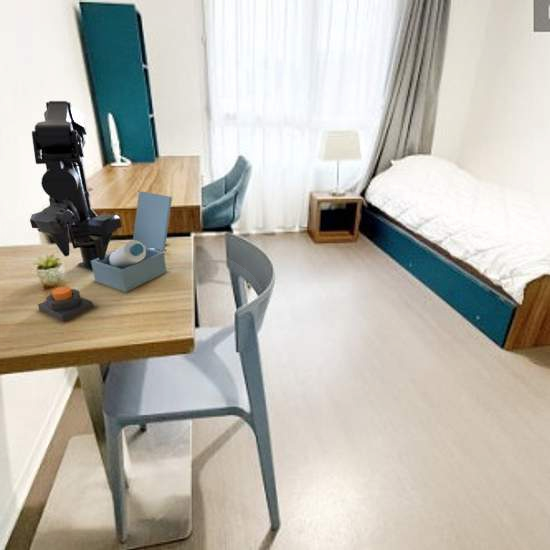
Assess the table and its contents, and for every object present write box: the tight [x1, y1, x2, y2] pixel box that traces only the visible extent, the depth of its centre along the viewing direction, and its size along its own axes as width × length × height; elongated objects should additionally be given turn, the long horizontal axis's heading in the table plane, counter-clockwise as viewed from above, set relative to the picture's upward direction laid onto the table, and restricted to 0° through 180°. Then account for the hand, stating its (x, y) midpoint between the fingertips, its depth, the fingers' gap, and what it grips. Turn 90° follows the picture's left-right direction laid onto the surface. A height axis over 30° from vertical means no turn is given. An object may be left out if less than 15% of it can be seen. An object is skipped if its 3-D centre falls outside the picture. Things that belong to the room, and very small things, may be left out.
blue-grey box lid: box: [132, 190, 173, 252], centre depth 99 cm, size 14×12×1 cm
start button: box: [51, 286, 72, 301], centre depth 80 cm, size 4×4×2 cm
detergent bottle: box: [109, 239, 146, 269], centre depth 93 cm, size 5×5×13 cm
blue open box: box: [91, 247, 167, 293], centre depth 96 cm, size 14×12×6 cm
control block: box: [37, 288, 94, 323], centre depth 81 cm, size 9×7×4 cm
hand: (84, 257), depth 83 cm, fingers open, 9 cm apart
